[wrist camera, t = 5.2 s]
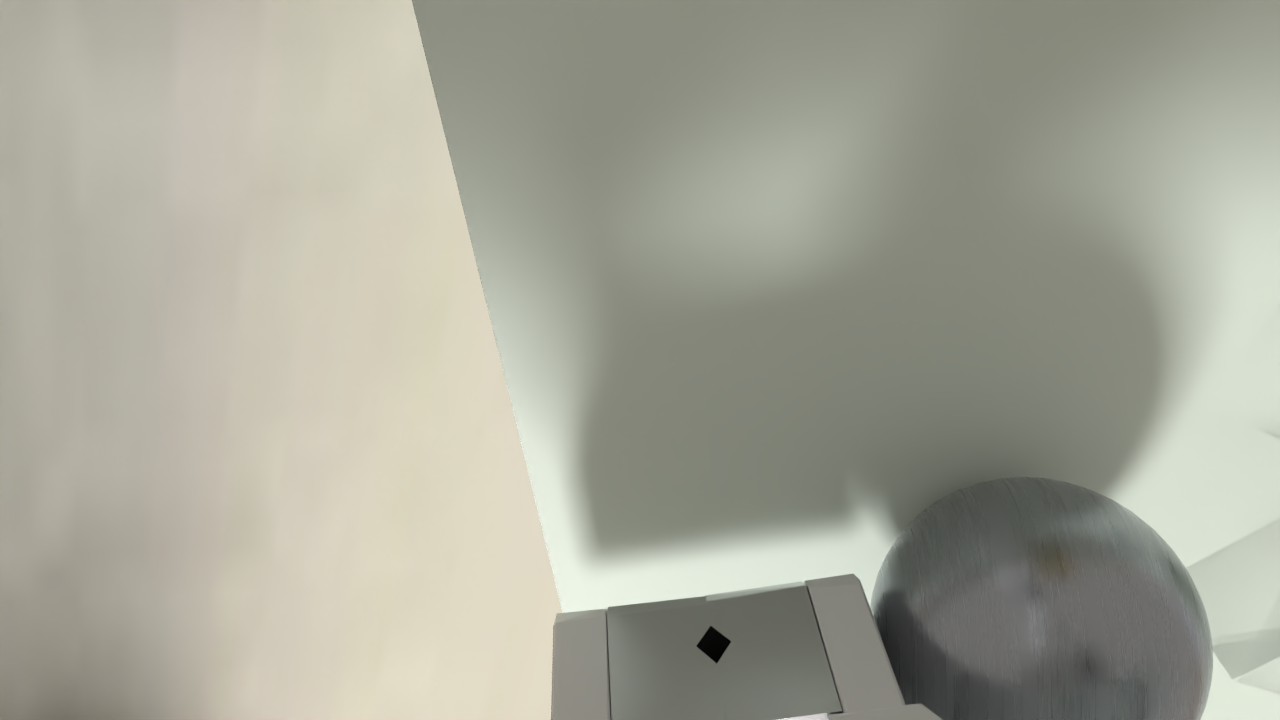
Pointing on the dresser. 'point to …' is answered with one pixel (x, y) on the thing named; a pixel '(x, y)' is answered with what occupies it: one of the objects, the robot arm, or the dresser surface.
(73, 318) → the dresser surface
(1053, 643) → the ball
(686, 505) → the board
